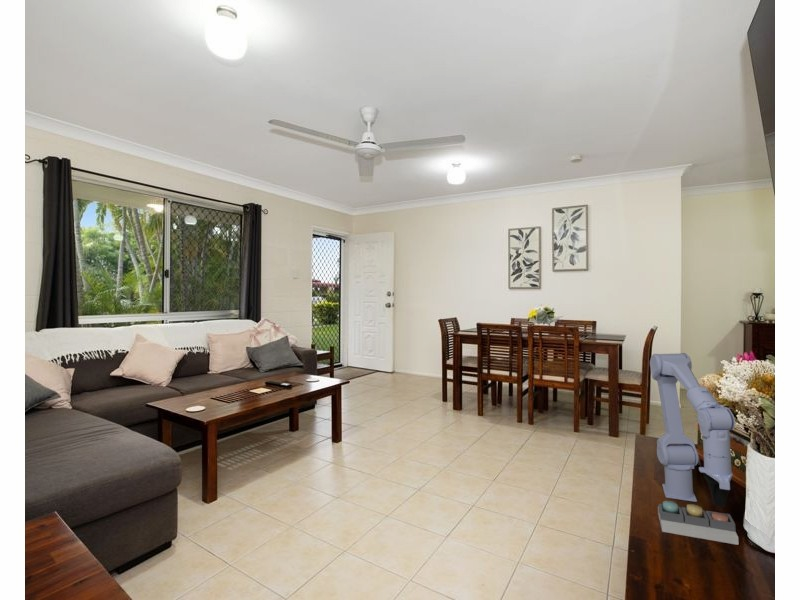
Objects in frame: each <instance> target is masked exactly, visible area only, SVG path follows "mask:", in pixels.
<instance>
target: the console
mask: <svg viewBox="0 0 800 600" xmlns="http://www.w3.org/2000/svg"><path fill="white" fill-rule="evenodd" d="M657 505H658V506H657V515H658V519H659V523H660V529H661V532H662V533H669V534H674V535H680V536H684V537H685V536H686V537H691V538H695V539H696V538H697V539H702V540H707V541H715V542H719V543H727V544H731V545H739V536H738V533H737V532H736V531H737V530H736V523H735V521H734V519H733V518H732V516H731V514H730V513H724V512H723V513H722V512H721V513H722V514H725V515H727V516H728V522H726V521H719V520H713V519H712V513H714V512H715V511H710V510H705V509H702V514H703V516H702V517H701V518H700V517H694V516H690V515H688V514H687V507H685V506H678V513H677V514H674V513H668V512H665V511H664V510H663V503H658V504H657Z"/></svg>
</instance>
